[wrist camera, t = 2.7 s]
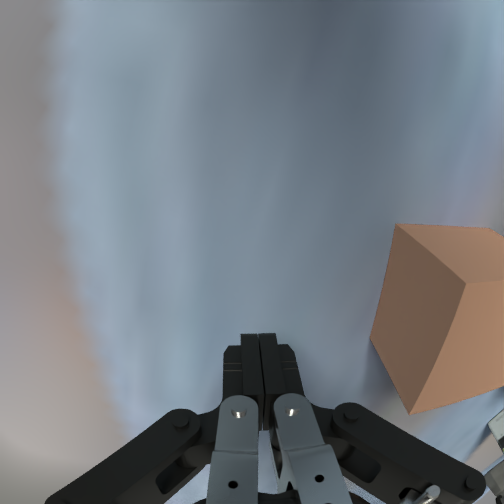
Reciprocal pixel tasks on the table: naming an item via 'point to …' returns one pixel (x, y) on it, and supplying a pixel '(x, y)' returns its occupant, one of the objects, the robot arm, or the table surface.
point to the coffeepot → (496, 481)
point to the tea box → (498, 429)
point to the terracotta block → (442, 314)
